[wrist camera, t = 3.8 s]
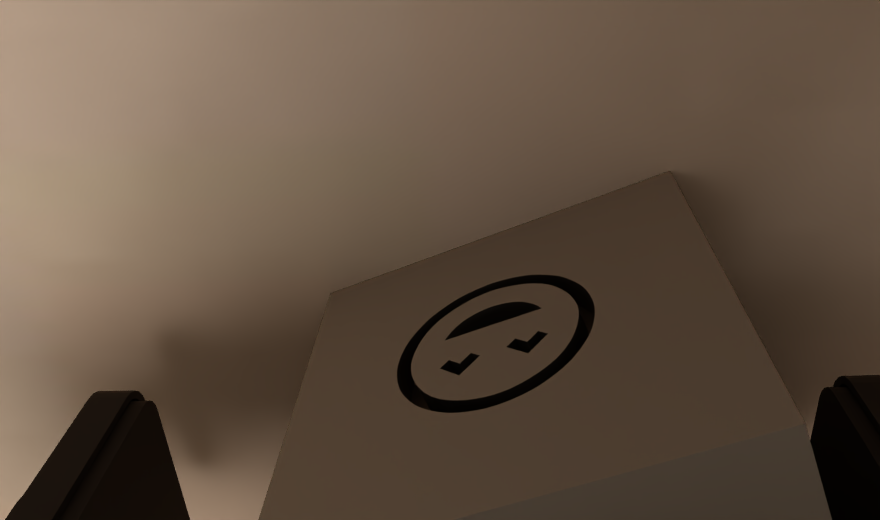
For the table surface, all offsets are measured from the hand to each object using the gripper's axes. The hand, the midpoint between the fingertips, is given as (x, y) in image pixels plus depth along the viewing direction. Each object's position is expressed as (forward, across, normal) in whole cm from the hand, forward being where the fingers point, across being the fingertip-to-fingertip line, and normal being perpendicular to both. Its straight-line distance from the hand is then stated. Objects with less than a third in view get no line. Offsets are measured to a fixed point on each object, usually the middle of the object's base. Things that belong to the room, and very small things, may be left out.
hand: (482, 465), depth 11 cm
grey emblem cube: (+2, -1, 0) cm, 2 cm away
